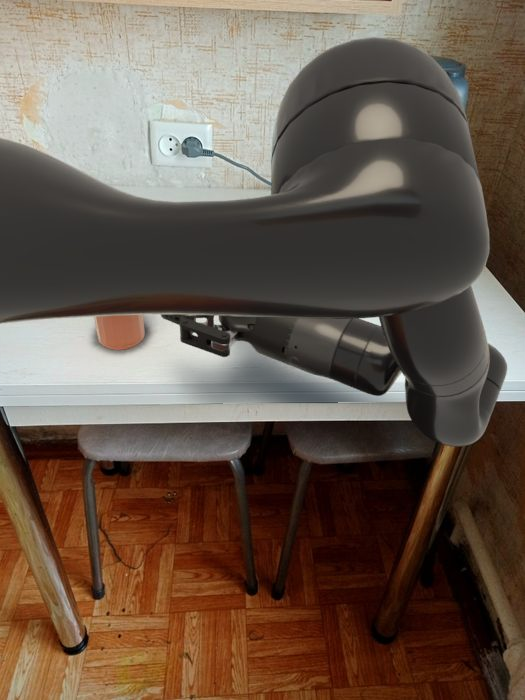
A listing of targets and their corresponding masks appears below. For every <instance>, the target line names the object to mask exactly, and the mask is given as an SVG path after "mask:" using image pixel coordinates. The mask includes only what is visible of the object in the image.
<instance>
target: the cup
mask: <svg viewBox="0 0 525 700" xmlns="http://www.w3.org/2000/svg"><path fill="white" fill-rule="evenodd" d="M93 319H94V320H93V321H94V325H95V331H96V337H97V339H98V342H99V343H100V344H101V345H102V346H103V347H104V348H107V349H109V350H114V351H123V350H128V349H132V348H134V347H136V346H138V345H139V344H141V343H142V342H143V340H144V338H145V335H146V333H145V332H146V331H145V322H144V315H120V316H97V317H93Z"/></svg>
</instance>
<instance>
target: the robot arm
mask: <svg viewBox="0 0 525 700" xmlns="http://www.w3.org/2000/svg"><path fill="white" fill-rule="evenodd" d="M271 142H272V143H271V156H270V157H271V158H270V159H271V160H270V170H271V172H270V173H271V174H270V195H265V196H258V197H251V198H243V199H242V198H240V199H230V200H229V199H228V200H201V201H197V200H196V201H195V200H193V201H169V200H159V199H157V200H156V199H152V198H147V197H142V196H138V195H134V194H131V193H129V192H125V191H123V190H121V189H118V188H116V187H114V186H113V185H109V184H107V183H105V182H104V181H101V180H100V179H97V178H95V177H94V176H92V175H90V174H89V173H86V172H85V171H82V170H80V169H78V168H77V167H75V166H73V165H71V164H69V163H66V162H65V161H63V160H61V159H59V158H57V157H56V156H53V155H50V154H48V153H46V152H44V151H41V150H39V149H37V148H35V147H32V146H29V145H27V144H23V143H20V142H17V141H13V140H11V139H8V138H7V139H6V138H0V325H3V324H14V323H23V322H32V321H33V322H34V321H44V320H45V321H46V320H57V319H58V320H60V319H76V318H77V319H78V318H94V317H97V316H120V315H143V316H144V315H145V316H146V315H147V316H148V315H160V317H161V318H162V319H163V320H166V321H169V322H171V323H173V324H176V325H178V326H179V335H180V336H179V337H180V338H179V339H180V342H181V343H183V344H184V345H188V346H191V347H193V348H196V349H198V350H199V349H200V350H202V351H205V352H208V353H210V354H212V355H216V356H219V357H221V358H228V357H230V355H231V348H232V346H233V345H234V344H235V342H245V343H249V344H250V346H252V347H253V349H254V350H255V352H257V353H259V354H260V355H263V356H265V357H268V358H270V359H272V360H275V361H277V362H280V363H283V364H286V365H288V366H290V367H293V368H295V369H298V370H300V371H303V372H306V373H308V374H311V375H313V376H319V377H323V378H326V379H329V380H332V381H335V382H337V383H339V384H341V385H345V386H347V387H349V388H352V389H355V390H357V391H360V392H362V393H365V394H367V395H370V396H375V397H380V396H383V395H385V394H386V393H388V392H389V391H390V389H391V388H392V387H393V386H394V384H395V383H396V381H397V379H398V378H399V377H400V376H401V374H402V375H403V376H404V395H405V405H406V412H407V414H408V417H409V418H410V420H411V422H412V423H413V425H414V426H415V428H417V429H418V430H419V431H420V433H422V434H423V435H424V436H425V437H427V438H428V439H430V440H431V441H433V442H435V443H438V444H441V445H443V446H446V447H454V448H460V447H461V448H462V447H467V446H470V445H472V444H474V443H476V442H477V441H478V440H480V439H481V438H482V436H483V435H484V434H485V432H486V430H487V427H488V424H489V422H490V420H491V416H492V413H493V411H494V409H495V406H496V404H497V400H498V398H499V395H500V392H501V390H502V388H503V385H504V382H505V379H506V377H507V374H508V373H507V372H508V363H507V361H506V358H505V357H504V356H503V354H502V353H501V352H500V351H499V349H498V348H496V347H495V346H493V345H492V344H491V343H489V342H488V339H487V338H488V337H487V334H486V330H485V326H484V323H483V319H482V316H481V313H480V309H479V306H478V302H477V299H476V296H475V293H474V290H473V287H472V285H473V284H475V282H476V281H477V280H478V278H479V277H480V276H481V274H482V273H483V271H484V270H485V268H486V265H487V262H488V259H489V255H490V250H491V249H490V229H489V225H488V224H489V223H488V216H487V210H486V204H485V199H484V192H483V186H482V183H481V181H480V175H479V170H478V165H477V161H476V156H475V151H474V147H473V142H472V138H471V127H470V125H469V121H468V116H467V114H466V110H465V107H464V104H463V100H462V98H461V95H460V94H459V92H458V90H457V88H456V86H455V84H454V83H453V81H452V80H451V78H450V76H449V74H448V73H447V71H446V70H445V69H444V68H443V67H442V65H440V64H439V63H438V62H437V61H436V60H435V59H434V58H433V57H432V56H431V55H430V54H428V53H426V52H425V51H423V50H421V49H420V48H418V47H417V46H415V45H413V44H411V43H408V42H405V41H402V40H399V39H396V38H387V37H386V38H385V37H374V36H373V37H366V38H357V39H352V40H349V41H346V42H343V43H340V44H337V45H334V46H332V47H330V48H328V49H326V50H325V51H323V52H321V53H319V54H318V55H316V56H315V57H314V58H313V59H311V61H309V62H308V63H307V64H306V65H304V66H303V68H301V69H300V70H299V72H298V73H297V75H296V76H295V78H293V80H292V81H291V82H290V83H289V85H288V87H287V89H286V91H285V93H284V95H283V97H282V99H281V101H280V103H279V107H278V111H277V114H276V118H275V123H274V125H273V132H272V141H271ZM215 316H216V317H217V316H218V321H219V324H215ZM371 318H372V319H373V318H378V320H379V323H380V324H377V323H376V324H375V323H373V322H370V321H367V320H364V319H371ZM197 319H206V321H204V322H198V321H197ZM195 334H196V335H195Z"/></svg>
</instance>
